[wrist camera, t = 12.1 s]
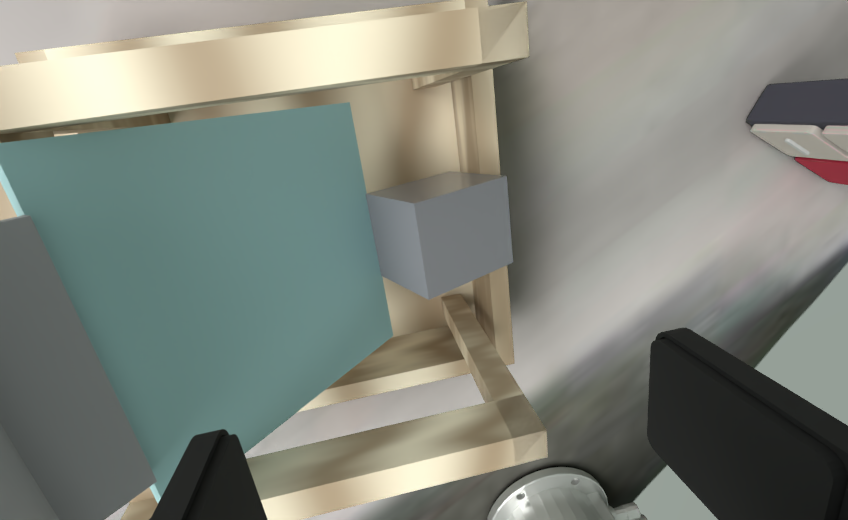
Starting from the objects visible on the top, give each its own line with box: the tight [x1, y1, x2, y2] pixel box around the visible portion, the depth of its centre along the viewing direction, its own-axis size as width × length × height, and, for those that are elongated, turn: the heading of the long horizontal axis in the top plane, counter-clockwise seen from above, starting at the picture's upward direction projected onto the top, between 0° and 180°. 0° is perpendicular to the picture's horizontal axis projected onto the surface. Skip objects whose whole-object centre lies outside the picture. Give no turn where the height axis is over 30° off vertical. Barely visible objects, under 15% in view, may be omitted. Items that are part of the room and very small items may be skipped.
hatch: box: [0, 102, 393, 520], centre depth 16 cm, size 19×14×4 cm
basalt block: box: [365, 171, 513, 300], centre depth 24 cm, size 5×5×6 cm
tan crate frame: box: [0, 0, 548, 520], centre depth 22 cm, size 22×22×16 cm
